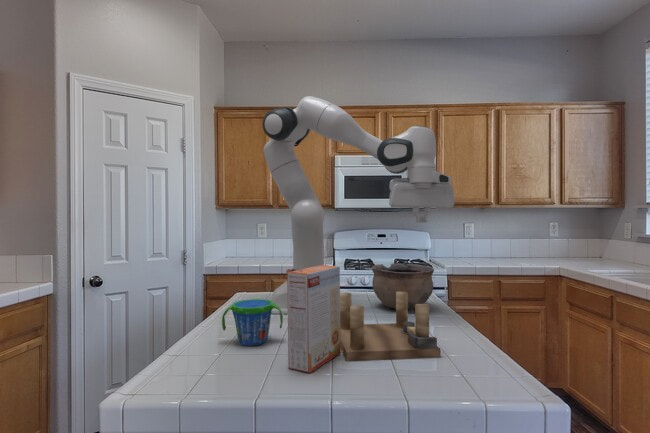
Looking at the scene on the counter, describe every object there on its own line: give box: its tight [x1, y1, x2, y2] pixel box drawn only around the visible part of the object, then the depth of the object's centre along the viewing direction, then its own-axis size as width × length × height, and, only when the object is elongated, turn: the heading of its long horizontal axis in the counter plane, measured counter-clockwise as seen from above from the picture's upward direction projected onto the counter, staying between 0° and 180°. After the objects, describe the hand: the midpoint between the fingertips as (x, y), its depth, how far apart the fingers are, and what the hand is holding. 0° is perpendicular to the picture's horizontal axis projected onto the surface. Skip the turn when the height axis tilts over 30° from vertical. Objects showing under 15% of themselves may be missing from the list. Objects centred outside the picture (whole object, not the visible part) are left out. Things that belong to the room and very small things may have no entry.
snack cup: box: [221, 298, 284, 347], centre depth 98 cm, size 16×11×10 cm
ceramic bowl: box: [371, 262, 435, 310], centre depth 137 cm, size 22×22×15 cm
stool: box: [340, 292, 441, 362], centre depth 97 cm, size 22×22×11 cm
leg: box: [403, 303, 430, 337], centre depth 95 cm, size 13×3×9 cm, turn 5°
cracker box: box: [286, 264, 342, 374], centre depth 85 cm, size 14×6×21 cm, turn 149°
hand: (421, 222), depth 118 cm, fingers closed
